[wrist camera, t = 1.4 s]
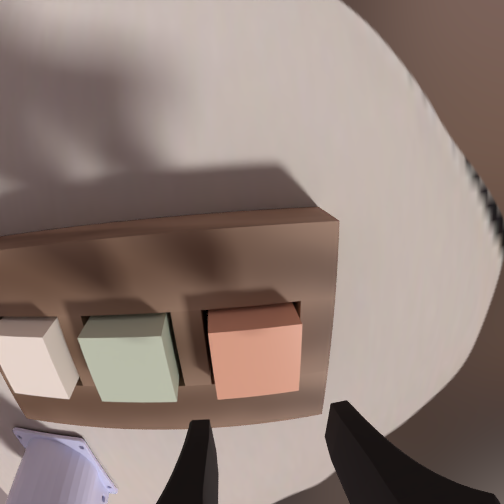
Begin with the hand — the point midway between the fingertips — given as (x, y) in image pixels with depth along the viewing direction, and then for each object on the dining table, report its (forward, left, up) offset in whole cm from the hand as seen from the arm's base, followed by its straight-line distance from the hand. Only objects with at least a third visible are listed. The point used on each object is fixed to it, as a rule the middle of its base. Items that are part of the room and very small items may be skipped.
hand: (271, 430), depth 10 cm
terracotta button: (0, 0, -7) cm, 7 cm away
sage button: (0, +6, -7) cm, 9 cm away
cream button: (0, +12, -7) cm, 14 cm away
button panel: (0, +6, -8) cm, 10 cm away
